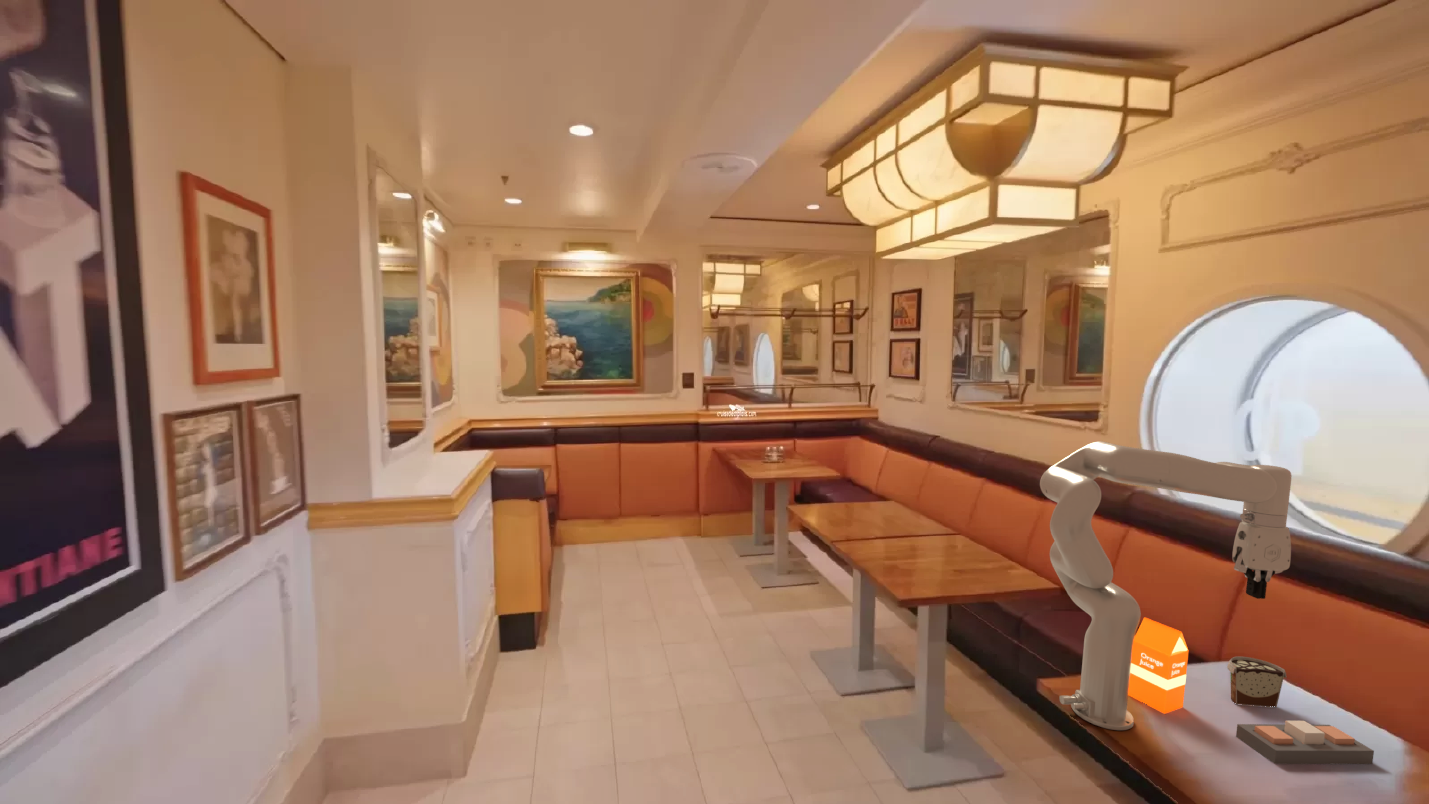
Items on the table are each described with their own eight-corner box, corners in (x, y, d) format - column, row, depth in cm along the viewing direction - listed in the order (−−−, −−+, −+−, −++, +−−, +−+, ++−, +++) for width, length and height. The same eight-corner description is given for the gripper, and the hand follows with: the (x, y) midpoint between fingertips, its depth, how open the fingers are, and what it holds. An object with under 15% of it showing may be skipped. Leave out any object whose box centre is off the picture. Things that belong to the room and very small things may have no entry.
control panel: (1274, 763, 128) (1275, 750, 127) (1235, 736, 137) (1237, 724, 136) (1372, 764, 129) (1374, 750, 128) (1327, 737, 138) (1329, 724, 137)
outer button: (1333, 756, 131) (1335, 738, 130) (1312, 743, 135) (1314, 726, 135) (1352, 756, 131) (1354, 738, 131) (1331, 743, 135) (1333, 726, 135)
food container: (1262, 694, 155) (1267, 657, 154) (1283, 708, 149) (1287, 670, 148) (1211, 690, 156) (1215, 653, 155) (1229, 704, 150) (1233, 665, 149)
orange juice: (1164, 714, 145) (1172, 634, 143) (1126, 694, 153) (1133, 619, 151) (1183, 707, 148) (1191, 629, 146) (1145, 688, 156) (1152, 614, 154)
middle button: (1303, 750, 130) (1305, 733, 130) (1283, 737, 135) (1285, 720, 134) (1322, 750, 130) (1324, 733, 130) (1302, 737, 135) (1304, 720, 134)
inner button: (1272, 756, 130) (1274, 738, 130) (1253, 742, 134) (1255, 725, 134) (1291, 756, 130) (1293, 738, 130) (1271, 742, 135) (1273, 726, 134)
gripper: (1247, 523, 134) (1239, 602, 135) (1311, 524, 134) (1302, 603, 136) (1218, 514, 141) (1210, 589, 143) (1279, 515, 142) (1270, 590, 143)
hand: (1255, 596), depth 139 cm, fingers closed
